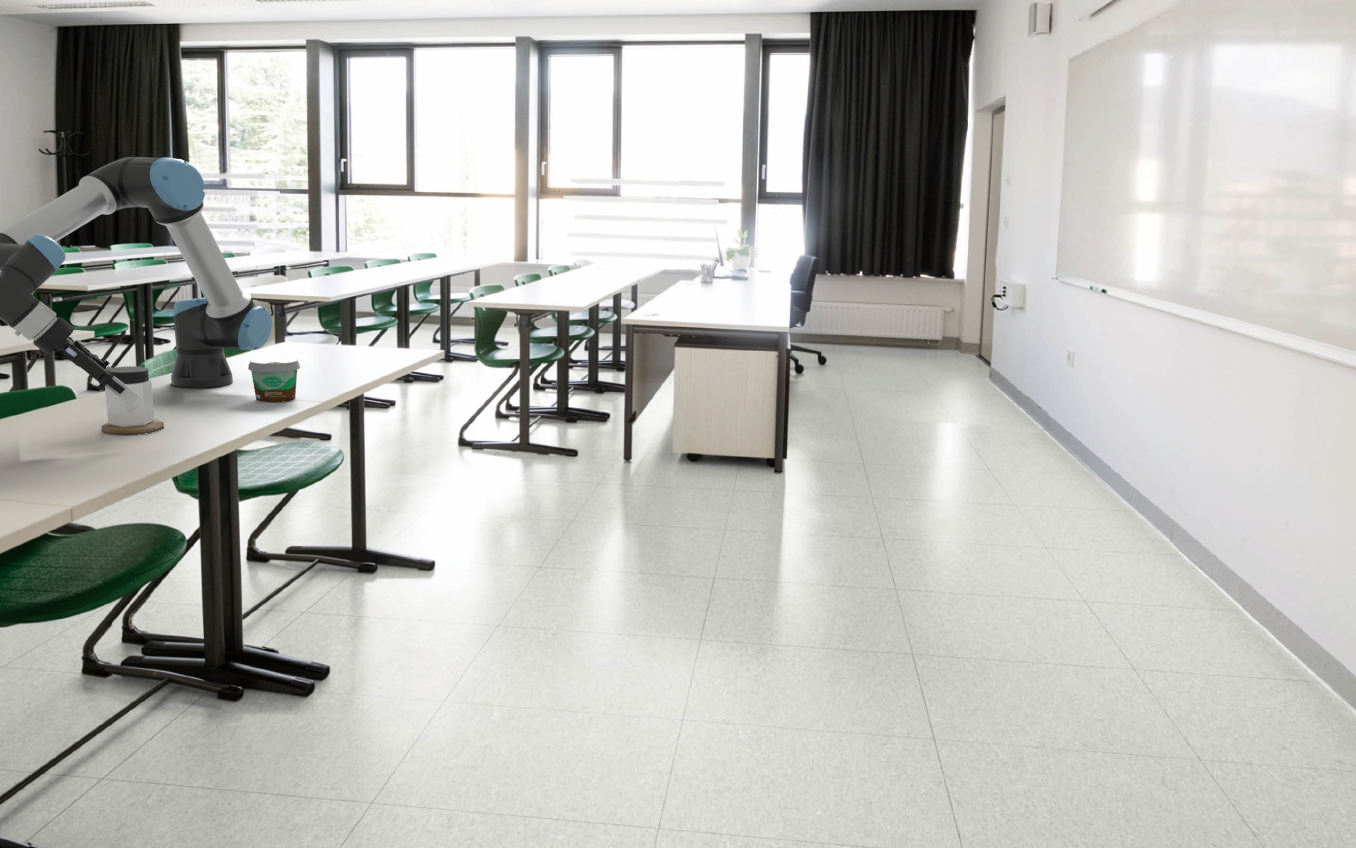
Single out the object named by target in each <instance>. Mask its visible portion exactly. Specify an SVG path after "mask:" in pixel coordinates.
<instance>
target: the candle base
mask: <svg viewBox="0 0 1356 848" xmlns="http://www.w3.org/2000/svg"><path fill="white" fill-rule="evenodd" d="M164 428H165V424H164V421H162V420H159V419H156V418H154V421H153V422H151V423H149V424H147V425H144V426H132V427H119V426H114V425H109V424H108V422H106V423H104V424H102V425H101V432H102V433H103V434H105V435H109V436H111V435H112V436H138V434H141V435H146V434H145V433H148V434H152V432H153V433H157V432H160V431H162V430H163V429H164ZM161 429H162V430H161ZM159 430H160V431H159ZM156 431H157V432H156Z"/></svg>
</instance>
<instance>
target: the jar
mask: <svg viewBox="0 0 1356 848" xmlns="http://www.w3.org/2000/svg"><path fill="white" fill-rule="evenodd" d="M106 371H107V372H108V373H109V374H111V375H113V376H115V377H116V378H117V379H119V380H120V381H121V382H123V383H124V384H125V385H127V386H128V387H129V388H131V389H132V390H133V391H134V392H136V393H137V394H138V395H140V396H141V397H140V398H139V399H138V400H137V401H136V402H135V403H134V404H133V405H132V406H130V405H129V404H128V403H126V402H125V401H124V400H122V399H121V398H120V397H118V396H117V395H116V394H114V393H113V392H112V391H110V390H109V389H108V388H106V387H105V386H104V388H105V390H104V391H105V400H106V411H107V412H106V413H107V423H108V424H109V425H114V426H119V427H132V426H144V425H147V424H149V423H151V422H153V421H154V419H155V416H154V413H155V412H154V401H153V398H154V397H153V389H152V380H151V379H150V376H149V369H148V368H147V367H144V366H133V365H132V366H131V365H130V366H127V365H126V366H117V367H111V368H110V369H107V370H106Z"/></svg>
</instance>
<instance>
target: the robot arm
mask: <svg viewBox="0 0 1356 848" xmlns="http://www.w3.org/2000/svg"><path fill="white" fill-rule="evenodd" d="M205 189H206V185H205V182H204V178H203V177H202V175H201V173H200V171H199V170H198V169H197V168H196V167H195V166H194V165H193V164H192V163H190V162H189V161H186V160H183V159H180V158H175V157H174V158H173V157H166V156H165V157H161V158H160V157H143V156H142V157H139V156H130V157H129V156H128V157H123V158H120V159H116V160H114V161H112V162H109V163H108V164H105V165H103V166H101V167H100V168H97V169H96V170H94V171H92V172H90V173H89V174H87V175H85V176H83V177H82V178H81V179H80V180H79V182H78V185H77V186H75V187H74V188H72V189H71V190H68V191H67V192H65V193H64V194H62V195H60V196H59V197H57V198H55V199H54V200H52V201H49V202H47V203H46V204H44V205H42V206H41V207H39V208H38V209H36V210H34V211H32V212H30V213H29V214H28V215H26V216H24V217H22V218H20V219H19V220H17V221H15V222H13V223H12V224H10V225H8V226H7V227H5V228H3V229H2V230H0V320H1V321H2V322H3V323H5V324H6V325H8V327H10V328H11V329H13V330H14V331H15V332H14V334H15V335H16V336H20V335H22V337H24V338H25V339H26V340H27V341H32V340H33V341H32V343H33V345H34V346H36V347H37V348H38V349H39V350H41V351H42V352H44V353H45V354H47V355H48V354H49V355H50V354H51V353H53V352H55V351H56V350H57V349H59V350H61V351H62V355H63V357H64V358H65V359H67V360H68V361H70V362H72V363H73V364H74V365H75V366H76V367H79V368H80V369H82V370H83V371H84V372H86V373H87V374H88V375H89V376H91V378H93V379H94V380H96V381H97V382H98V387H99V388H101V389H103V388H105V387H106V388H108V389H109V390H110V391H112V392H113V393H114V394H116V395H117V396H118V397H120V398H121V399H122V400H124V401H125V402H126V403H128V404H129V405H130V406H132V405H133V404H134V403H135V402H136V401H137V400H138V399H139V398H140V397H141V396H140V395H138V394H137V393H136V392H134V391H133V390H132V389H131V388H129V387H128V386H127V385H125V384H124V383H123V382H121V381H120V380H119V379H117V378H116V377H115V376H113V375H111V374H109V373H108V372H107V371H106V370H107V369H110V368H112V367H111V366H109V365H110V364H111V362H110V361H108V360H107V359H105V360H103V359H101V358H99V357H98V356H97V355H95V354H93V353H92V352H91V351H90V350H89V349H88V348H87V347H85V346H84V345H83V344H82V342H80V341H79V340H77V339H76V340H74V339H73V337H72V336H71V335H72V334H73V333H74V331H75V327H74V326H73V325H71V324H70V323H69V322H68V321H66V320H65V319H64V318H62V317H57V312H55V311H54V310H52V309H51V308H50V307H49V306H47V305H46V304H45V303H43V302H42V301H41V300H39V299H38V298H37V297H35V296H34V294H35V292H36V291H37V290H38V289H39V288H40V287H41V286H43V285H44V284H45V282H47V281H48V280H49V278H51V276H53V275H54V274H55V273H56V272H58V270H59V268H60V267H61V265H63V263H64V262H65V260H66V252H65V251H64V248H62V247H61V245H60V244H59V243H58V241H59V240H62V239H63V238H64V237H66V236H68V235H69V234H71V233H73V232H74V231H76V230H78V229H79V228H81V227H82V226H84V225H86V224H88V223H89V222H91V221H92V220H94V219H96V218H97V217H99V216H101V215H107V216H108V215H111V214H113V213H115V212H116V211H118V210H121V209H126V208H127V209H128V208H146V209H147V208H148V210H149V212H150V214H151V215H152V217H153V220H154V221H155V223H157V224H159V225H161V226H165V227H166V229H167V230H168V232H169V235H170V237H171V238H172V240H173V241H174V244H175V245H176V247H177V249H178V251H179V252H180V254H181V256H182V258H183V261H185V264H186V265H187V267H188V269H189V271H190V273H191V274H192V277H193V278H194V280H195V282H196V284H197V285H198V288H199V289H200V291H201V293H202V295H203V297H200V298H189V299H179V300H177V301H175V303H174V305H173V315H172V316H173V327H174V339H175V349H176V351H175V352H176V357H175V360H174V364H173V368H172V370H171V371H172V372H171V375H170V382H171V385H172V386H174V387H179V388H189V389H191V388H195V389H196V388H199V389H201V388H215V387H222V386H227V385H231V384H233V381H234V379H233V372H232V370H231V368H230V364H229V363H228V360H227V357H226V355H225V348H227V349H234V350H242V351H247V350H248V351H255V350H259V349H261V348H263V347H264V346H265V345H266V343H267V342H268V341H269V340H270V337H271V334H272V330H273V318H272V315H271V313H270V311H269V310H268V309H267V308H266V307H263V306H262V305H256V304H255V302H254V299H253V297H252V295H251V294H250V293H249V292H248V291H246V290H242V289H241V288H240V286H239V283H238V281H237V280H236V278H235V276H234V274H233V272H232V270H231V269H230V266H229V264H228V261H226V259H225V257H224V254H223V253H222V251H221V249H220V247H219V245H218V243H217V241H216V240H215V237H214V235H213V234H212V231H211V229H210V228H209V225H208V224H207V222H206V219H205V217H204V215H203V214H202V211H203V208H204V206H205V204H204V199H205V196H206V192H205V191H204V190H205ZM70 336H71V337H70Z"/></svg>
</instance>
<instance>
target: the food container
mask: <svg viewBox="0 0 1356 848" xmlns="http://www.w3.org/2000/svg"><path fill="white" fill-rule="evenodd" d="M247 369H248V370H249V371H251V378H252V384H253V388H254V394H255V400H256V401H257V402H261V403H269V404H270V403H273V404H275V403H277V404H278V403H286V402H292V401H294V400H295V399H296V395H297V394H296V393H297V392H296V391H297V380H298V379H297V377H298V370H299V369H301V365H300V362H299V361H298V359H296V360H295V361H291V362H279V361H278V362H277V361H275V362H274V361H273V362H272V361H271V362H267V363H260V362H253V361H251V360H249V363H248V368H247ZM291 400H292V401H291Z"/></svg>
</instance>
